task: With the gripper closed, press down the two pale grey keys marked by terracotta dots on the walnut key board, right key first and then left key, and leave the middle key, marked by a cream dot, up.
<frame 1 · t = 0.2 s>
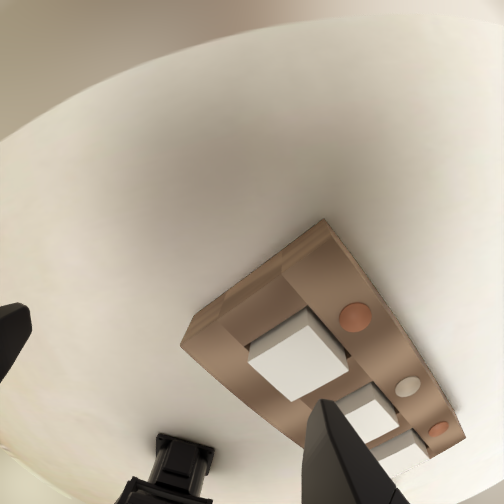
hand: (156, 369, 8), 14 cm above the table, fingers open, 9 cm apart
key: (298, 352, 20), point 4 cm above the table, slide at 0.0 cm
key board: (352, 379, 25), on the table
key mid: (359, 413, 22), point 4 cm above the table, slide at 0.0 cm
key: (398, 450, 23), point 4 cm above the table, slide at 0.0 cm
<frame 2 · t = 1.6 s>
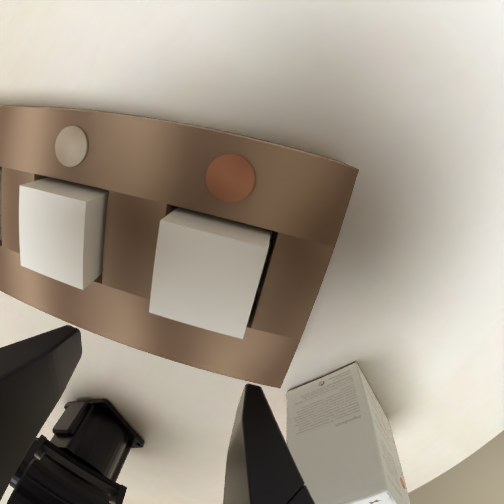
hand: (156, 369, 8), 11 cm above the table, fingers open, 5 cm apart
small box: (341, 404, 22), on the table
key board: (102, 210, 19), on the table
key mid: (65, 228, 15), point 4 cm above the table, slide at 0.0 cm
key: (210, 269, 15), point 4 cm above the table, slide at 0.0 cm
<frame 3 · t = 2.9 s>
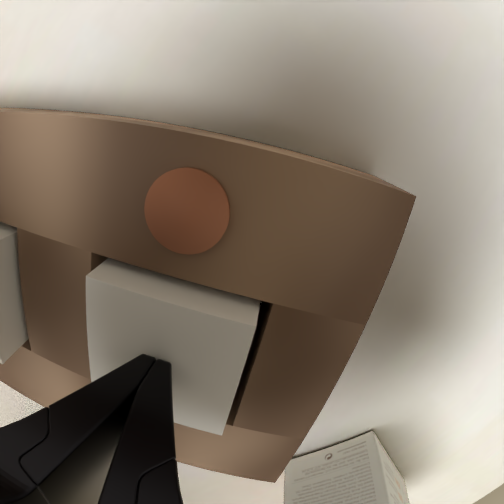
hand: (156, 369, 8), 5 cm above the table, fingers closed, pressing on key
small box: (351, 469, 17), on the table
key board: (38, 241, 13), on the table
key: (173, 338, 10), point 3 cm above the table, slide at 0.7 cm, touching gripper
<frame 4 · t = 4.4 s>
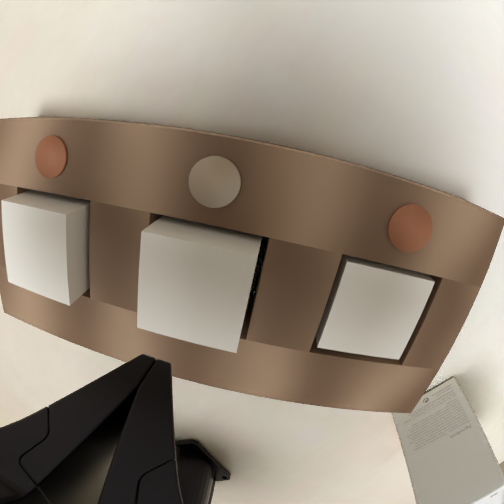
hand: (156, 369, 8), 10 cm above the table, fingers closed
small box: (432, 415, 21), on the table
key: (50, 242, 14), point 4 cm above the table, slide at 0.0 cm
key board: (217, 248, 18), on the table
key mid: (199, 280, 14), point 4 cm above the table, slide at 0.0 cm
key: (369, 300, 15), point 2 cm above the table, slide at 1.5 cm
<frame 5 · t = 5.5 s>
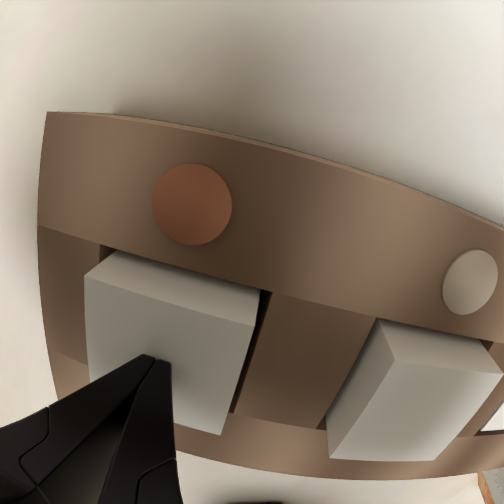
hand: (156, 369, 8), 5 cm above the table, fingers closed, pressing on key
small box: (502, 455, 17), on the table
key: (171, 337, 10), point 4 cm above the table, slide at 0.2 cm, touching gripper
key board: (382, 328, 13), on the table
key mid: (408, 391, 9), point 4 cm above the table, slide at 0.0 cm
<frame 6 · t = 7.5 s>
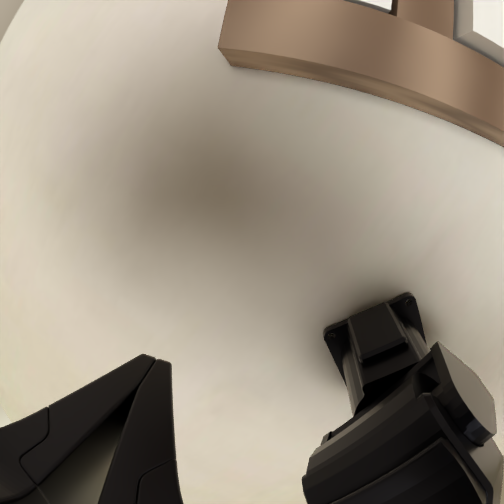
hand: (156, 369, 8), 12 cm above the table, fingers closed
key board: (458, 36, 13), on the table
key mid: (492, 21, 9), point 4 cm above the table, slide at 0.0 cm
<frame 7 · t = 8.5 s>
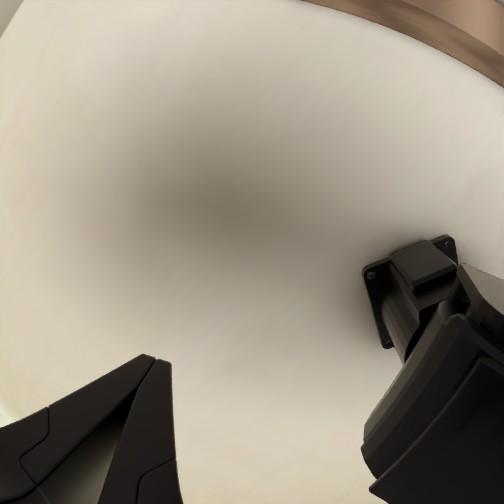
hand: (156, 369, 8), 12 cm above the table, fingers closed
key board: (488, 5, 12), on the table
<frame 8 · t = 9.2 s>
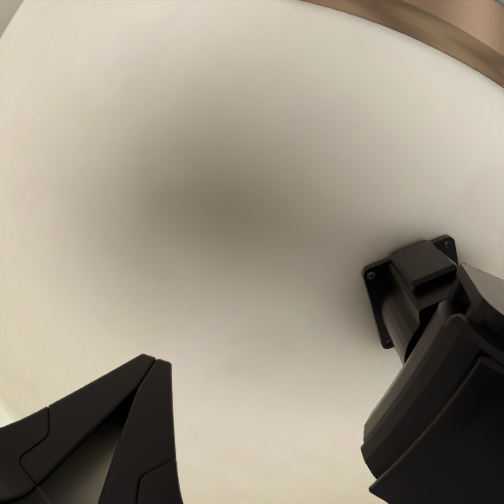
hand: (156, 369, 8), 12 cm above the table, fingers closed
key board: (488, 5, 12), on the table
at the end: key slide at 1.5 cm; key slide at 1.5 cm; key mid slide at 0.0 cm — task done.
